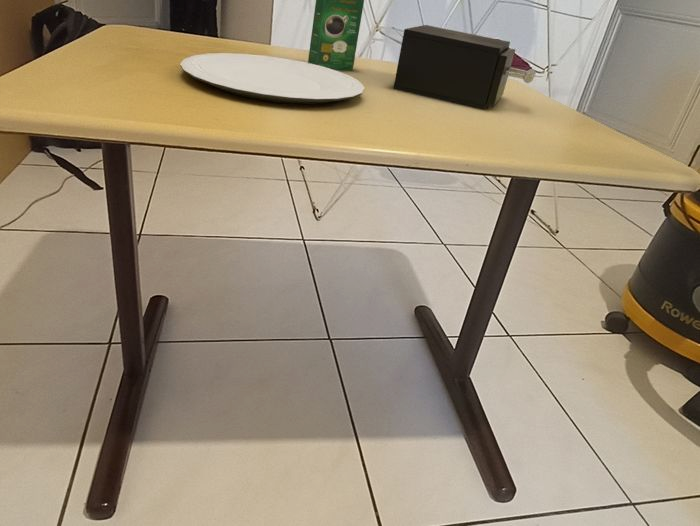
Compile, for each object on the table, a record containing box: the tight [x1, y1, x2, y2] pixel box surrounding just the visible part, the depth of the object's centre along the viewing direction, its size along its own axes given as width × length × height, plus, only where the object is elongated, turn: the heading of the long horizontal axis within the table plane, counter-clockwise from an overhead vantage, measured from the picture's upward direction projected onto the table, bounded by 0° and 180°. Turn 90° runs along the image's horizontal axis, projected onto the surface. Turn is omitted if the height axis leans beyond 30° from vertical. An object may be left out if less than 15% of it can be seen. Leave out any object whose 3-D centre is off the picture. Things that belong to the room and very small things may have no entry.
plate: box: [179, 52, 365, 105], centre depth 77 cm, size 25×25×2 cm
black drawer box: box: [393, 24, 511, 111], centre depth 90 cm, size 15×14×9 cm
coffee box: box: [307, 0, 365, 72], centre depth 92 cm, size 8×3×13 cm, turn 125°
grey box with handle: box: [486, 47, 536, 107], centre depth 89 cm, size 18×12×7 cm
